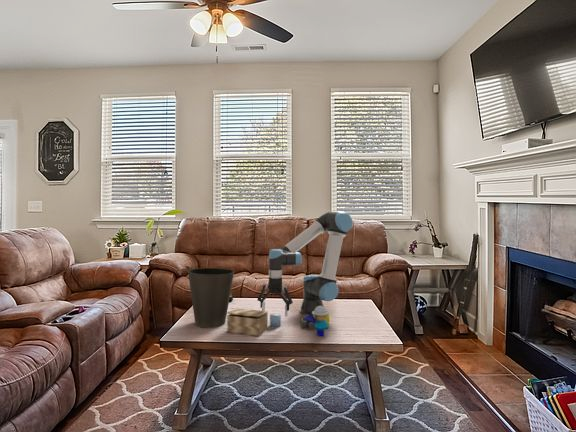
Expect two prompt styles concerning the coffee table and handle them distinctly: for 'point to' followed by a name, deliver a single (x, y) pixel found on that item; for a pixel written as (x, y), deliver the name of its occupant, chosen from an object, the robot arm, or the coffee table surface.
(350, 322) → the coffee table surface
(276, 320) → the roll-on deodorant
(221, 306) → the waste basket
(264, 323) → the box
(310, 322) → the toy
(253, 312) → the lid
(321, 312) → the toy
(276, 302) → the coffee table surface
